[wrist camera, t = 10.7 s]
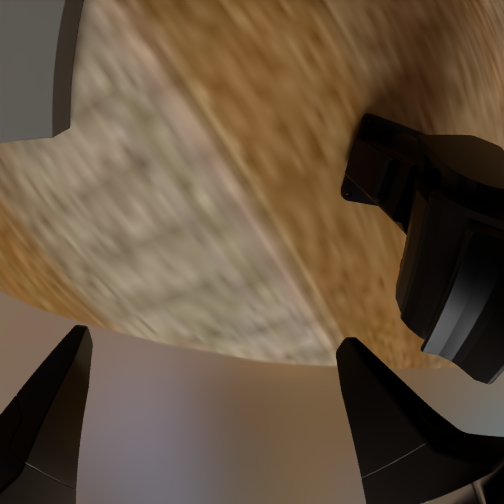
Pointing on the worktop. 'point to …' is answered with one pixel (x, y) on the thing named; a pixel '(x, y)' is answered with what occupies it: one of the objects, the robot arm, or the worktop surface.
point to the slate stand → (36, 67)
